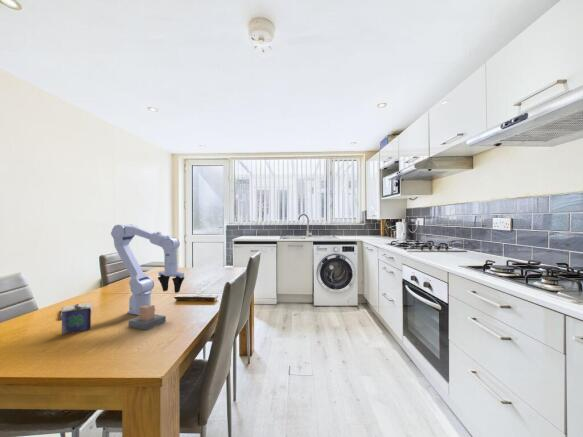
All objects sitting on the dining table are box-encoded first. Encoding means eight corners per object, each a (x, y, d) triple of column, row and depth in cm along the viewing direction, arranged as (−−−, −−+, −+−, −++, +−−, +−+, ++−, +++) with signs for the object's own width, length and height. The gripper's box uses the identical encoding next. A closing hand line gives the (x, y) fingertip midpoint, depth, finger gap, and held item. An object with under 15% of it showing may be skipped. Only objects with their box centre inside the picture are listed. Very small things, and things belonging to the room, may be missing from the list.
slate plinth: (128, 326, 116) (128, 319, 116) (149, 318, 125) (149, 312, 125) (145, 330, 112) (145, 323, 112) (165, 321, 121) (165, 315, 121)
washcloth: (60, 321, 123) (60, 314, 123) (60, 311, 137) (60, 305, 137) (93, 315, 130) (93, 309, 131) (90, 306, 144) (90, 300, 144)
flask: (60, 335, 107) (61, 307, 107) (62, 332, 109) (62, 305, 110) (90, 330, 112) (90, 303, 112) (91, 328, 114) (91, 301, 114)
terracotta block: (139, 318, 117) (139, 307, 117) (147, 315, 121) (148, 304, 121) (146, 320, 116) (146, 308, 116) (154, 317, 119) (154, 305, 119)
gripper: (152, 263, 131) (153, 292, 131) (175, 265, 126) (176, 295, 125) (165, 261, 138) (165, 288, 138) (187, 262, 132) (187, 291, 132)
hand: (171, 291), depth 132 cm, fingers open, 7 cm apart
